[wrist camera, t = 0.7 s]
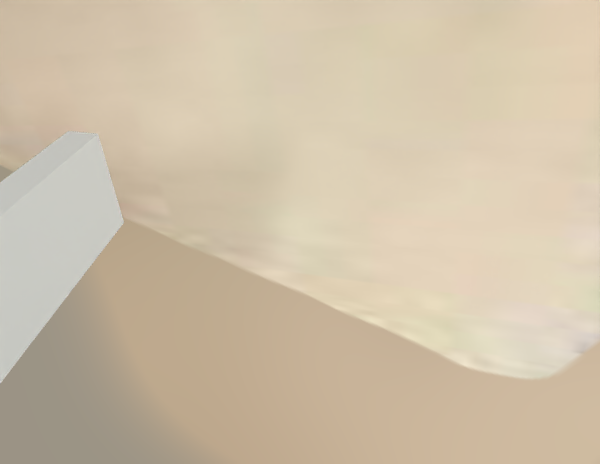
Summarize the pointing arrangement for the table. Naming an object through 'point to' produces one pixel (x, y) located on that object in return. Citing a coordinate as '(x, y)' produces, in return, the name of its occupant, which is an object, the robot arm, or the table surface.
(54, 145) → the robot arm
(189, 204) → the table surface
